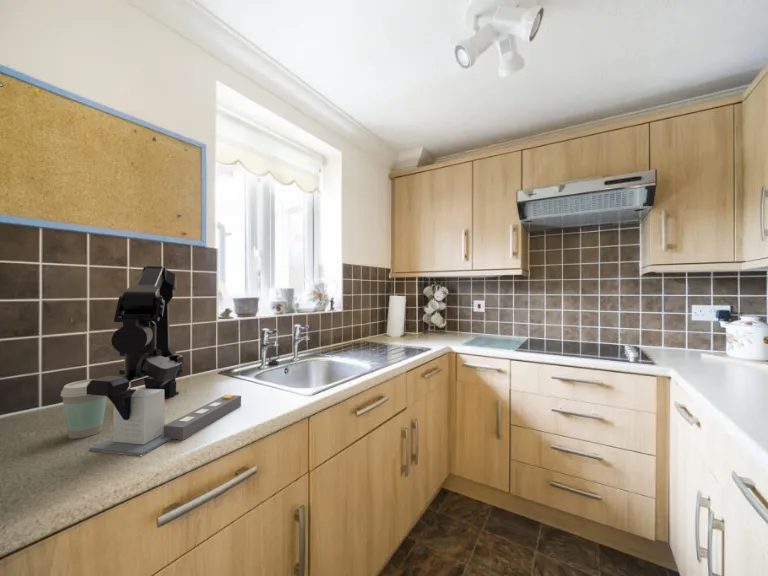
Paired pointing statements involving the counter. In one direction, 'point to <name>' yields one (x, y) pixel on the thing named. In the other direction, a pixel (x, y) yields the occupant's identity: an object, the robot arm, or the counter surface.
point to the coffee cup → (82, 410)
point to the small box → (141, 418)
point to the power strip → (201, 417)
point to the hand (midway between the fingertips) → (139, 413)
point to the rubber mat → (129, 446)
